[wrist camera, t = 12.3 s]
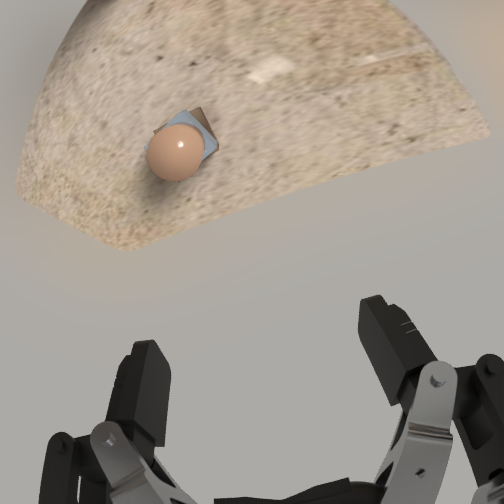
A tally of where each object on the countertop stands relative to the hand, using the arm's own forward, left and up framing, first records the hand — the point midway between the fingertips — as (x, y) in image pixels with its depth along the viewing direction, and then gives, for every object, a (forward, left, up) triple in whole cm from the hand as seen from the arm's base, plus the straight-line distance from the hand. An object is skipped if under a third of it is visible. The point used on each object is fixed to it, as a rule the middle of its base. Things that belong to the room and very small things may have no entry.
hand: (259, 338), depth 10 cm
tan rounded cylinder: (-5, -5, -23) cm, 23 cm away
